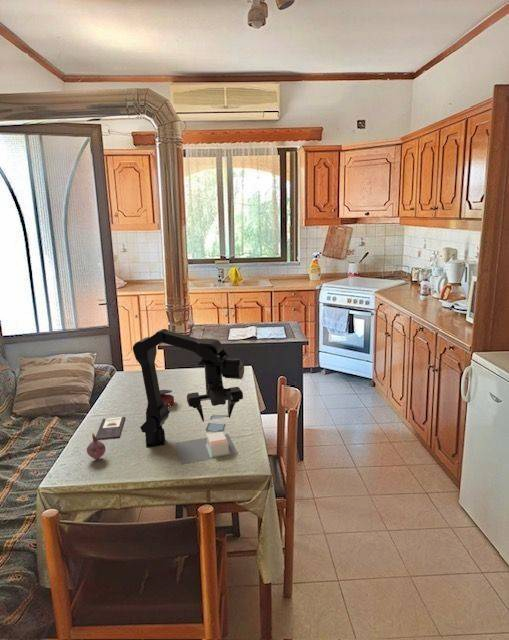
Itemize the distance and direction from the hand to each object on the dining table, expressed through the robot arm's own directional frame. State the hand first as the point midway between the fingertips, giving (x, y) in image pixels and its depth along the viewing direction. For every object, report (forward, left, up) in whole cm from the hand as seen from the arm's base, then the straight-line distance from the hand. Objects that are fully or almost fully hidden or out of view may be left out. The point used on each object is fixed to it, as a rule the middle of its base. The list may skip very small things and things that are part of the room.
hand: (216, 419), depth 163 cm
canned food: (-15, +49, -12) cm, 53 cm away
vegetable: (-41, +8, -12) cm, 44 cm away
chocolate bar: (-37, +32, -13) cm, 50 cm away
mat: (-4, +2, -12) cm, 13 cm away
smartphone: (+4, +21, -12) cm, 25 cm away
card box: (0, 0, -11) cm, 11 cm away
